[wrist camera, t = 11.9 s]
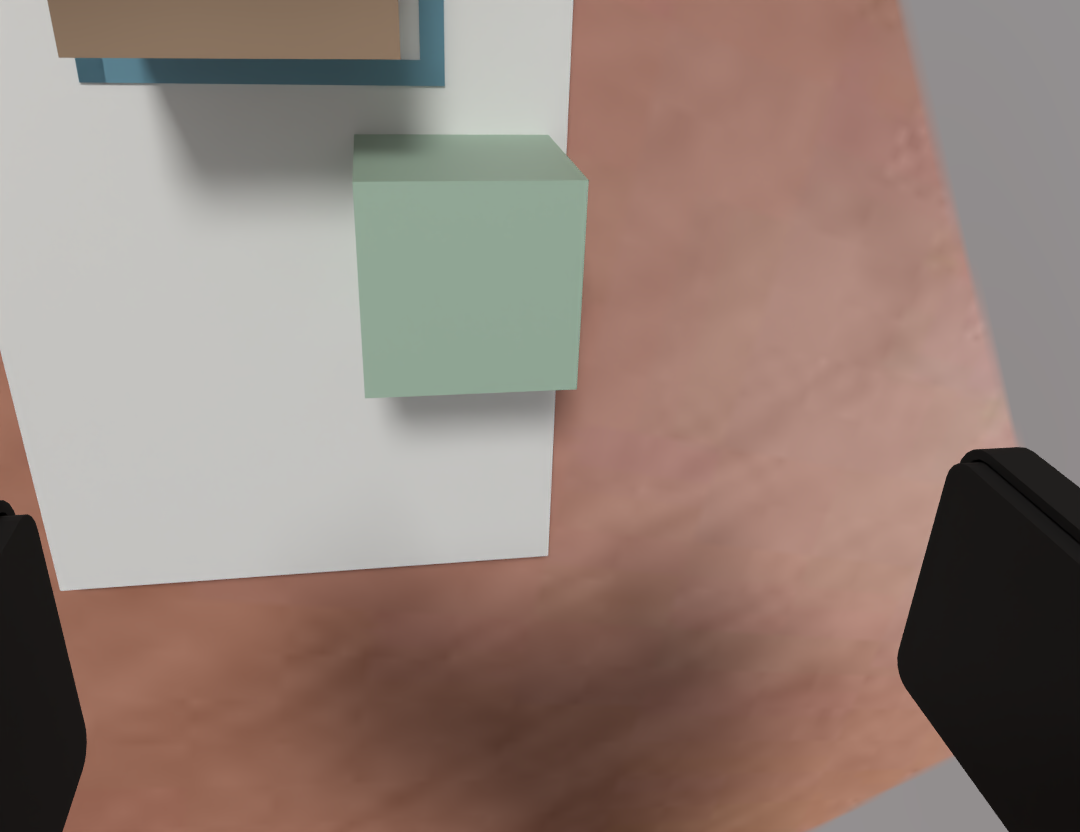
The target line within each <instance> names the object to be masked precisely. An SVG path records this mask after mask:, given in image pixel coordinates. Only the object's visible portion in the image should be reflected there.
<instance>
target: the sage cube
mask: <svg viewBox="0 0 1080 832" xmlns="http://www.w3.org/2000/svg"><path fill="white" fill-rule="evenodd" d="M588 181H589V180H588V179H587V178H586V177H585V176H584V175H583V173H582V172H581V171H580V170H579V169H578V168H577V167H576V165H575V164H574V163H573V162H572V161H571V160H570V159H569V158H568V156H567V155H566V154H565V153H564V152H563V151H562V150H561V148H560V147H559V146H558V145H557V144H556V143H555V142H554V140H553V139H552V138H551V137H550V136H549V135H441V134H354V152H353V178H352V184H353V201H354V219H355V236H356V253H357V270H358V287H359V305H360V322H361V339H362V356H363V374H364V391H365V398H386V397H410V396H433V395H456V394H480V393H503V392H526V391H549V390H573V389H577V375H578V357H579V340H580V322H581V304H582V287H583V269H584V252H585V234H586V216H587V199H588Z"/></svg>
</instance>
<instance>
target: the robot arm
mask: <svg viewBox="0 0 1080 832" xmlns="http://www.w3.org/2000/svg"><path fill="white" fill-rule="evenodd" d="M897 660H898V670H899V675H900V677H901V680H902V683H903V684H904V686H905V688H906V689H907V691H908V692H909V694H910V695H911V696H912V698H913V699H914V700H915V702H916V703H917V705H918V706H919V707H920V709H921V710H922V712H923V713H924V714H925V716H926V717H927V719H928V720H929V721H930V723H931V724H932V726H933V727H934V728H935V730H936V731H937V732H938V734H939V735H940V737H941V738H942V739H943V741H944V742H945V744H946V745H947V746H948V748H949V749H950V751H951V752H952V753H953V755H954V756H955V757H956V759H957V760H958V762H959V763H960V764H961V766H962V767H963V769H964V770H965V771H966V773H967V774H968V776H969V777H970V778H971V780H972V781H973V782H974V784H975V785H976V787H977V788H978V789H979V791H980V792H981V794H982V795H983V796H984V798H985V799H986V801H987V802H988V803H989V805H990V806H991V808H992V809H993V810H994V812H995V813H996V814H997V816H998V817H999V819H1000V820H1001V821H1002V823H1003V824H1004V826H1005V827H1006V828H1007V830H1008V831H1009V832H1080V488H1079V487H1078V486H1077V485H1075V484H1074V483H1073V482H1072V481H1070V480H1069V479H1068V478H1066V477H1065V476H1064V475H1063V474H1061V473H1060V472H1059V471H1057V470H1056V469H1055V468H1054V467H1052V466H1051V465H1050V464H1048V463H1047V462H1046V461H1045V460H1043V459H1042V458H1040V457H1039V456H1038V455H1037V454H1036V453H1034V452H1033V451H1031V450H1029V449H1027V448H1021V447H1014V448H995V449H976V450H972V451H970V452H968V453H966V455H965V456H964V457H963V458H962V459H961V462H960V463H958V464H956V465H954V466H953V467H952V468H951V469H950V470H949V472H948V475H947V477H946V480H945V484H944V488H943V491H942V495H941V499H940V502H939V506H938V509H937V513H936V517H935V520H934V524H933V528H932V531H931V535H930V538H929V542H928V546H927V549H926V553H925V557H924V560H923V564H922V567H921V571H920V575H919V578H918V582H917V586H916V589H915V593H914V597H913V600H912V604H911V607H910V611H909V615H908V618H907V622H906V626H905V629H904V633H903V636H902V640H901V644H900V647H899V651H898V657H897ZM86 744H87V739H86V728H85V723H84V719H83V715H82V711H81V707H80V702H79V698H78V694H77V690H76V686H75V682H74V678H73V673H72V669H71V665H70V661H69V657H68V653H67V649H66V645H65V640H64V636H63V632H62V628H61V624H60V620H59V616H58V611H57V607H56V603H55V599H54V595H53V591H52V587H51V583H50V578H49V574H48V570H47V566H46V562H45V558H44V554H43V550H42V545H41V541H40V537H39V533H38V529H37V526H36V523H35V521H34V519H33V518H32V517H31V516H30V515H15V513H14V510H13V509H12V507H11V506H10V504H9V503H7V502H6V501H4V500H0V832H62V831H63V828H64V825H65V822H66V819H67V816H68V813H69V810H70V807H71V804H72V801H73V798H74V795H75V792H76V789H77V785H78V782H79V779H80V776H81V773H82V770H83V766H84V762H85V756H86Z"/></svg>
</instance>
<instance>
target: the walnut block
mask: <svg viewBox="0 0 1080 832" xmlns="http://www.w3.org/2000/svg"><path fill="white" fill-rule="evenodd" d="M47 1H48V7H49V12H50V17H51V22H52V27H53V32H54V37H55V42H56V47H57V52H58V57H59V58H204V59H401V55H400V31H399V6H398V0H47Z"/></svg>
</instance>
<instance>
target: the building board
mask: <svg viewBox="0 0 1080 832" xmlns="http://www.w3.org/2000/svg"><path fill="white" fill-rule="evenodd" d="M398 6H399V31H400V55H401V59H204V58H59V57H58V52H57V47H56V42H55V37H54V32H53V27H52V22H51V17H50V12H49V7H48V1H47V0H0V351H1V355H2V359H3V363H4V367H5V371H6V375H7V379H8V383H9V387H10V391H11V395H12V399H13V403H14V407H15V411H16V415H17V419H18V423H19V427H20V431H21V435H22V439H23V443H24V447H25V451H26V455H27V459H28V463H29V467H30V471H31V475H32V479H33V483H34V487H35V491H36V495H37V499H38V503H39V507H40V511H41V515H42V519H43V523H44V527H45V531H46V535H47V539H48V543H49V547H50V551H51V555H52V559H53V563H54V567H55V571H56V575H57V579H58V583H59V587H60V591H65V590H79V589H93V588H107V587H120V586H134V585H148V584H162V583H176V582H190V581H204V580H218V579H232V578H246V577H260V576H274V575H288V574H301V573H315V572H329V571H343V570H357V569H371V568H385V567H399V566H413V565H427V564H441V563H455V562H469V561H482V560H496V559H510V558H524V557H538V556H548V545H549V523H550V501H551V479H552V457H553V435H554V413H555V391H556V390H549V391H526V392H503V393H480V394H456V395H433V396H410V397H386V398H365V391H364V374H363V356H362V339H361V322H360V305H359V287H358V270H357V253H356V236H355V219H354V201H353V184H352V178H353V152H354V134H441V135H549V136H550V137H551V138H552V139H553V140H554V142H555V143H556V144H557V145H558V146H559V147H560V148H561V150H562V151H563V152H564V153H565V154H566V149H567V127H568V105H569V83H570V61H571V39H572V17H573V0H398Z"/></svg>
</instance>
